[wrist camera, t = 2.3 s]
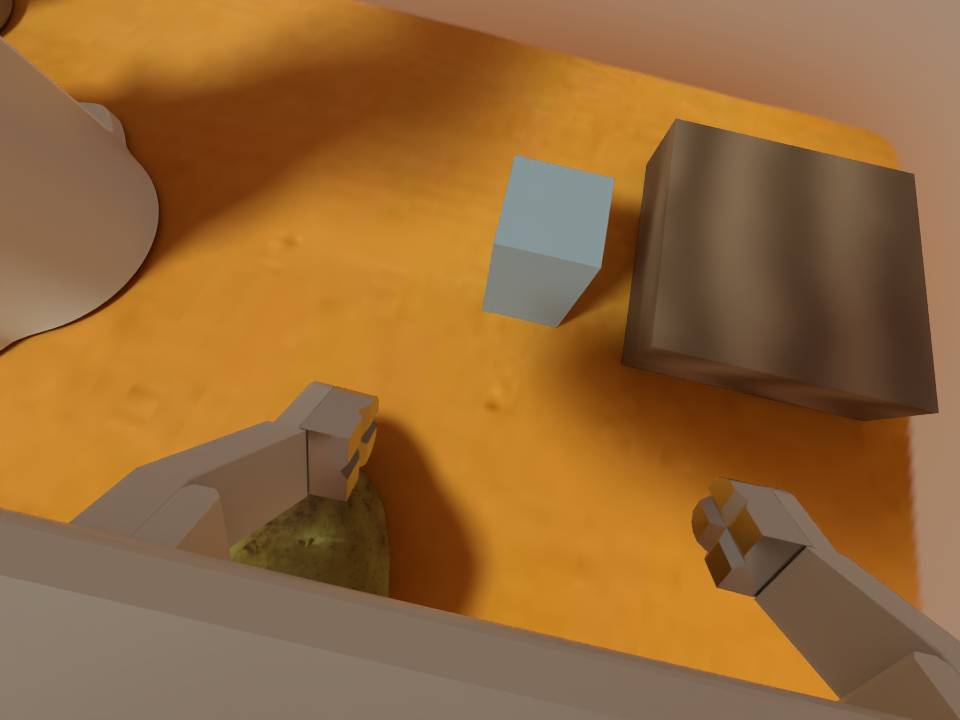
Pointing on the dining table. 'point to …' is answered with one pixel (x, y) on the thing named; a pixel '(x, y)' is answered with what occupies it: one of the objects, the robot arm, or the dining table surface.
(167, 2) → the dining table surface
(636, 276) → the plinth
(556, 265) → the block
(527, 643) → the robot arm
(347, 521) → the potato
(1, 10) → the candle holder
